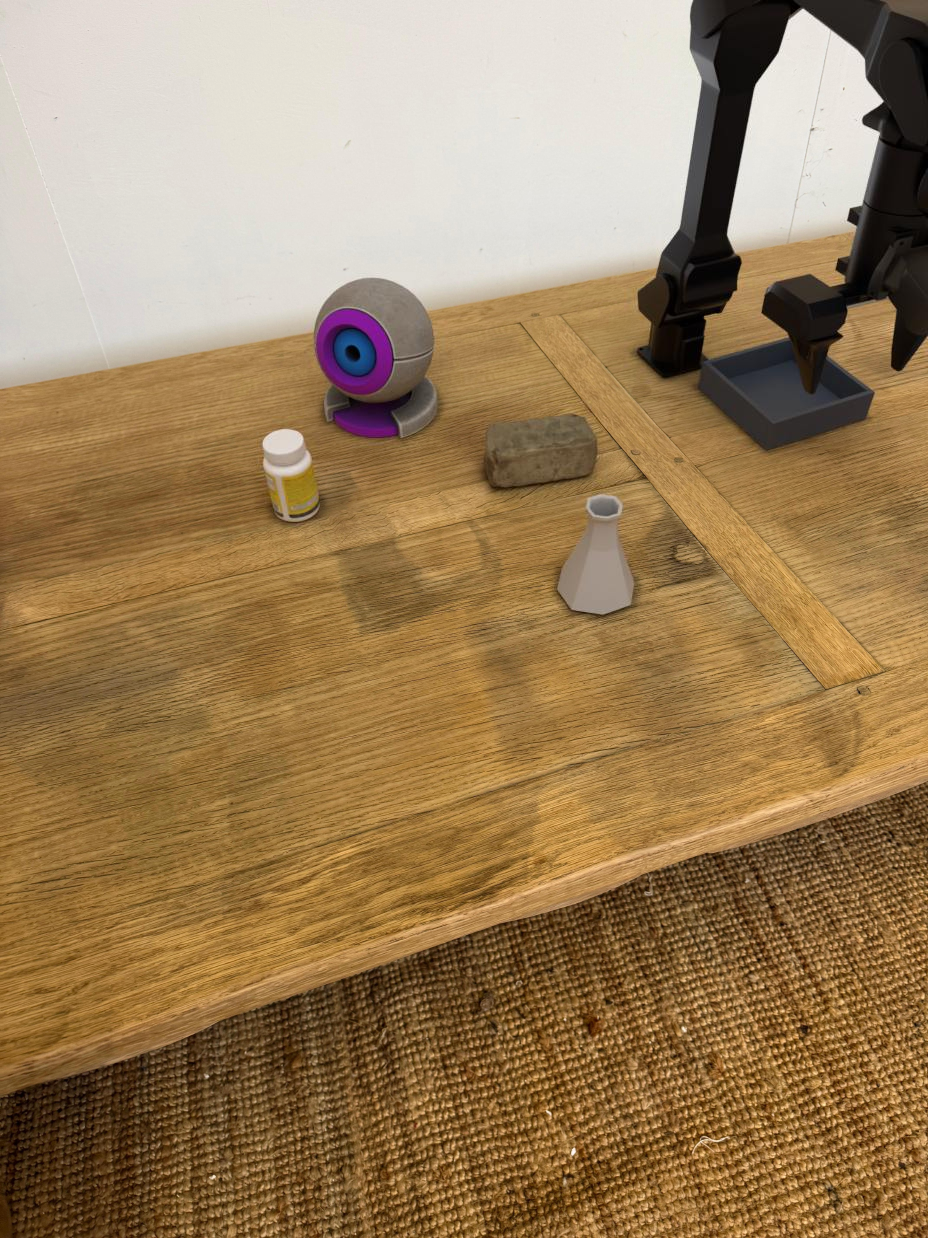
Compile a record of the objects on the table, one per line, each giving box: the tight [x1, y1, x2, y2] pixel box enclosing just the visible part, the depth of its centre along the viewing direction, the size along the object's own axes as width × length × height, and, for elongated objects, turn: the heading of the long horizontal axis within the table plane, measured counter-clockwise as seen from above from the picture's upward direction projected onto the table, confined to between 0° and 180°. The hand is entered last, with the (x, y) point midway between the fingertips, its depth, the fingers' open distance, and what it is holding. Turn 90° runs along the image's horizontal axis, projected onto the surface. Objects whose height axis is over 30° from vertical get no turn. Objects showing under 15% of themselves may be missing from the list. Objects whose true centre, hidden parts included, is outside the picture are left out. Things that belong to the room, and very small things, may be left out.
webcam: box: [313, 277, 439, 439], centre depth 102 cm, size 13×13×15 cm
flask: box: [556, 493, 635, 615], centre depth 83 cm, size 7×7×10 cm
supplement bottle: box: [262, 428, 321, 523], centre depth 93 cm, size 5×5×8 cm
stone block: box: [482, 413, 598, 488], centre depth 97 cm, size 6×12×5 cm, turn 102°
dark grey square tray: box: [697, 336, 876, 452], centre depth 105 cm, size 13×13×4 cm
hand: (853, 380), depth 84 cm, fingers open, 9 cm apart
